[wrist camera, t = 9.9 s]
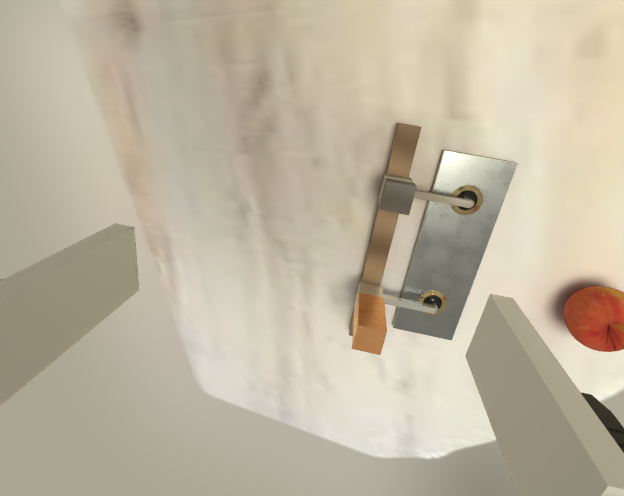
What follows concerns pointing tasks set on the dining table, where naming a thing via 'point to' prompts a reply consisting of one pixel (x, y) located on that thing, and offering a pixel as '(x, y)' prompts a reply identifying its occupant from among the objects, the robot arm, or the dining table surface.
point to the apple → (596, 318)
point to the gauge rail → (388, 217)
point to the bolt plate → (453, 241)
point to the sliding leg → (377, 316)
